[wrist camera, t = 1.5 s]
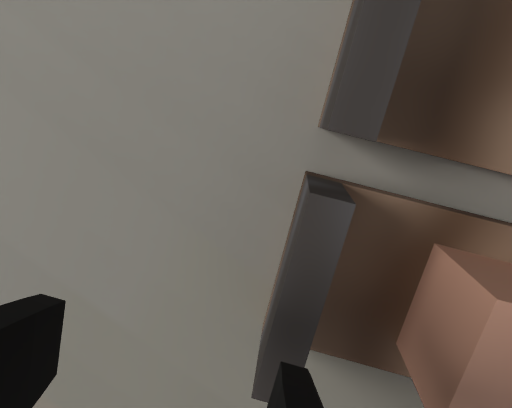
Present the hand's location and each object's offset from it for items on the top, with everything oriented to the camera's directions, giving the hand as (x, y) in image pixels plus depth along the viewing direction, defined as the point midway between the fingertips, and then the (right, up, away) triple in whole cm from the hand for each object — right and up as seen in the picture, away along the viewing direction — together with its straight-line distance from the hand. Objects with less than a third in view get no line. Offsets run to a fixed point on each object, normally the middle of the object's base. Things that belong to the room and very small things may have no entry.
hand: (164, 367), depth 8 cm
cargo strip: (+9, 0, +9) cm, 13 cm away
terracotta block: (+12, -1, +8) cm, 14 cm away
